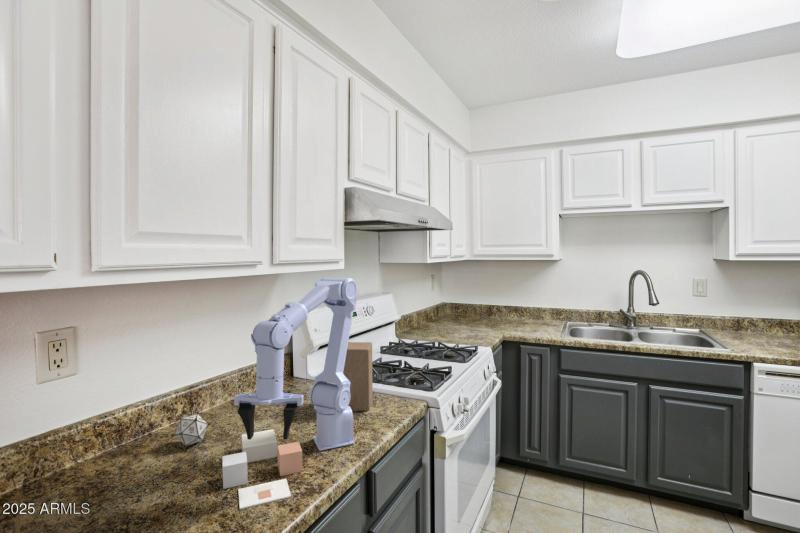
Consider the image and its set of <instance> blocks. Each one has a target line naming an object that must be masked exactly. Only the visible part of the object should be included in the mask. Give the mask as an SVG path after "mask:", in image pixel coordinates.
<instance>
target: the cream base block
mask: <svg viewBox="0 0 800 533" xmlns="http://www.w3.org/2000/svg"><path fill="white" fill-rule="evenodd" d="M276 436H277V435H276V433H275V428H274V429H272V428H271V429H268V430H267V429H266V430H261V431H254V436H253V437H252V438H251V439H248V438H247V433H244V434H241V452H246V455H247V464H248V463H252V462H257V461H263V460H267V459H273V458H278V454H277V446H278V440H277V437H276Z"/></svg>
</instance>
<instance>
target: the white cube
mask: <svg viewBox="0 0 800 533" xmlns="http://www.w3.org/2000/svg"><path fill="white" fill-rule="evenodd" d="M248 473H249V472H248V463H247V455H246V452H242V451H241V452H237V453H233V454H226V455H222V489H223V490H224V489H230V488H235V487H239V486H244V485H247V484H249V481H248V479H249V478H248V475H249V474H248Z"/></svg>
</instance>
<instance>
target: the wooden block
mask: <svg viewBox="0 0 800 533" xmlns="http://www.w3.org/2000/svg"><path fill="white" fill-rule="evenodd" d="M343 374H344V375H345V377H346V378H347V379H348V380H349V381H350V395H351V397H350V402H349V405H348V406H350V407H351V410H352V412H354V411H355V412H356V411H357V412H359V411H360V412H369V411H370V409H371V405H372V401H373V393H374V392H373V343H372V342H370V341H369V342H367V341H366V342H360V341H359V342H358V341H357V342H356V341H355V342H354V341H353V342H350V341H348V347H347V353H346V359H345V365H344V371H343Z"/></svg>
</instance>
